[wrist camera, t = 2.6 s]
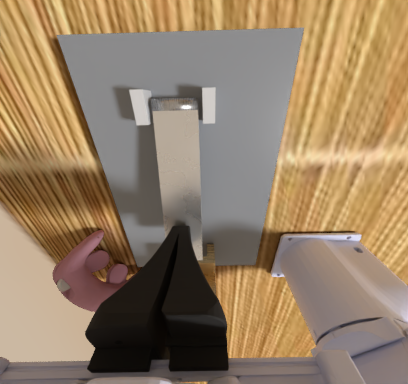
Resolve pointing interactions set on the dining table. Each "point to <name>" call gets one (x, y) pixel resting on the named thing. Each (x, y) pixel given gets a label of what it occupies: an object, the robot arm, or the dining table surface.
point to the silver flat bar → (179, 165)
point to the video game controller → (88, 274)
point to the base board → (208, 124)
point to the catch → (209, 266)
